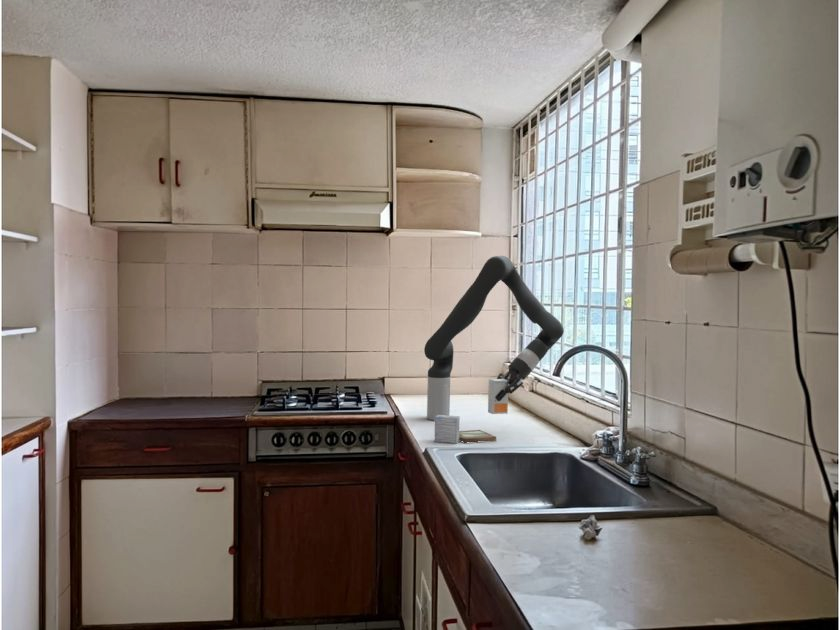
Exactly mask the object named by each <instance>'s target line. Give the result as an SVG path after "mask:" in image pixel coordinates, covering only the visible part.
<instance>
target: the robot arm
mask: <svg viewBox="0 0 840 630" xmlns="http://www.w3.org/2000/svg"><path fill="white" fill-rule="evenodd" d="M500 281H501V282H503V284H505V285H506V286H507V288H508V289H509V290H510V291H511V293H512V295H513V296H514V299H515V301H516V302H517V304H518V306H519V308H520V309H521V310H522V312H523V314H525V316H526V318H528V319H529V321H530V322H531V323H533V324H537V325H538V326H539V327H540V329H541V330H540V332H539V333H538V334H537V335H536V337H535V338H534V339H533V340H531V341H530V342H529V343H528V344H527V345H526V347H525V348H523V350H521V351H520V352H519V354H518V355H516V357H515V358H514V359H513V360H512V361H511V362H510V364H509V365H508V367H507V368H508V371H506V372H505V374H503V373H499V375H498V376H497V378H496V379H505V380H507V381H506V383H505V386H504V387H503V389H502V390H501V391H500V392H499V393H498V394H497V395H496V396H495V398H496V400H497V401H501V400H502V398H503V397H504V396H505V395H506V394H508V395H509V394H511V395H512V394H514V392H516V391H517V390H518V389H519V388H520V387H521V386H522V385H523V384H524V382H523V381H524V380H526V379H527V377H529V375H530V374H531V373H532V372H533V370H534V369H535V368H536V367H537V365H538V364H539V363H540V362H541V361H542V359H544V357H545V356H546V354H547V353H548V352H549V350H550V349H551V348H552V347H553V346H554V345H555V344H556V343H557V342H558V341H559V340H560V339H561V338H562V337H563V335H564V326H563V324H562V323H561V321H560V320H559V319H558V318H556V317H555V316H554V315H553V314H552V313H550V312H549V311H548V310H547V309H546V308H545V306H544V305H543V304H542V303H541V302H540V301H539V299H538V298H537V297H536V295H534V294H533V292H532V291H531V290H530V288H529V287H528V285H527V284H526V282H525V280H523V278H522V277H521V275H520V273H519V272H518V270H517V268H516V267H515V265H514V263H513V261H512V260H511V258H509V257H508V256H506V255H494V256H491V257H489V259H487V260H486V261H485V263H484V264H483V266H482V268H481V269H480V272H479V273H478V275H477V277H476V278H475V279H474V280H473V282H472V284H470V286H469V287H468V289H467V290H466V291H465V293H464V294H463V295H462V297H461V298H460V299H459V300H458V302H457V303H456V305H455V306H454V307H453V308H452V310H451V312H450V313H449V314H448V315H447V317H446V318H445V320H444V321H443V323H442V324H441V325H440V326H439V328H438V329H437V330H436V331H435V332H434V333H433V334H432V335H431V336H430V338H428V340H427V341H426V343H425V345H424V351H423V352H424V355H425V357H426V358H427V359H428V360H429V361H433V363H432V365H431V367H430V368H429V369H428V370H427V399H426V404H427V405H426V419H427V420H430V421H435V417H436V416H437V415H449V416H450V407H451V406H450V405H451V402H450V401H451V374H452V371H453V366H454V365H453V364H454V345H453V342H452V341H453V339H454V338H456V336H457V335H459V334H460V333H462V332H463V331H464V330H465V329H466V328H468V327H469V326H470V325H471V324H472V323H473V322H474V321H475V320H476V319H477V317H478V315H479V314H480V313H481V311H482V310H483V307H484V305H485V302H486V300H487V298H488V296H489V293H490V292H491V291H492V289H493V288H495V286H496V285H497V283H499V282H500Z"/></svg>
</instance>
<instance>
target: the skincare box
mask: <svg viewBox="0 0 840 630" xmlns="http://www.w3.org/2000/svg"><path fill="white" fill-rule="evenodd" d="M506 381H507V380H505V379H497V378H495V379H491V378H490V379H488V392H487V393H488V396H487V397H488V398H487V399H488V400H487V403H488V404H487V412H488V413H489V414H492V415H503V414H504V415H507V414H508V411H509V408H508V407H509V394H506V395H505V396H504V397H503V398H502V400H501V401H497V400H496V398H495V396H496V395H497V394H498V393H499V392H500V391H501V390H502V389H503V387H504V386H505V383H506Z"/></svg>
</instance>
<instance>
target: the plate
mask: <svg viewBox="0 0 840 630" xmlns="http://www.w3.org/2000/svg"><path fill="white" fill-rule="evenodd" d="M459 440H460V442H461V441H463V442H464V444H468V443H467V442H476V443H479V442H478V441H490V442H497V436H495V435H493V434H491V433H488V432H486V431H484V430H481V429H474V430H459ZM463 442H462V443H463Z"/></svg>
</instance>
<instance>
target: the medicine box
mask: <svg viewBox="0 0 840 630" xmlns="http://www.w3.org/2000/svg"><path fill="white" fill-rule="evenodd" d="M460 418H461V417H460V416H458V415H450V414H449V415H437V416H436V417H435V420H434V441H435V442H434V441H433V442H434V443H445V442H450V443H449V444H458V443H459V431H460Z"/></svg>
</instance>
